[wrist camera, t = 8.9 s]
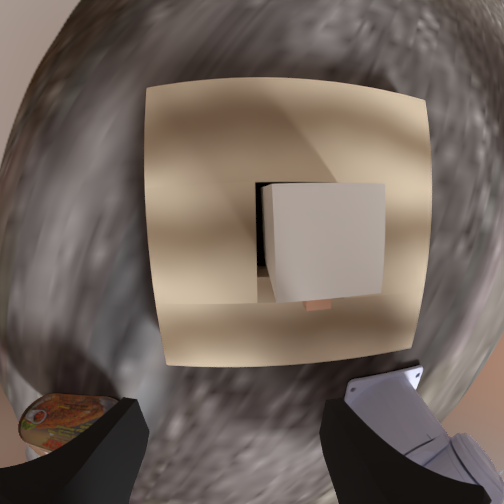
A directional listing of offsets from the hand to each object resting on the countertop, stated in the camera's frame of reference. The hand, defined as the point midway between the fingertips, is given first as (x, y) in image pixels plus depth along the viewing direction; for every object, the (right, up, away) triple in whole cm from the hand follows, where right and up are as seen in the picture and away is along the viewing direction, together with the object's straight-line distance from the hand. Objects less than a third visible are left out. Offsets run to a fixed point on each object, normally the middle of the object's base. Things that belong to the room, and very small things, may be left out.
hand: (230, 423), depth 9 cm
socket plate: (+4, +8, +9) cm, 13 cm away
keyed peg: (+4, +8, +9) cm, 13 cm away
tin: (-17, -10, +13) cm, 23 cm away
